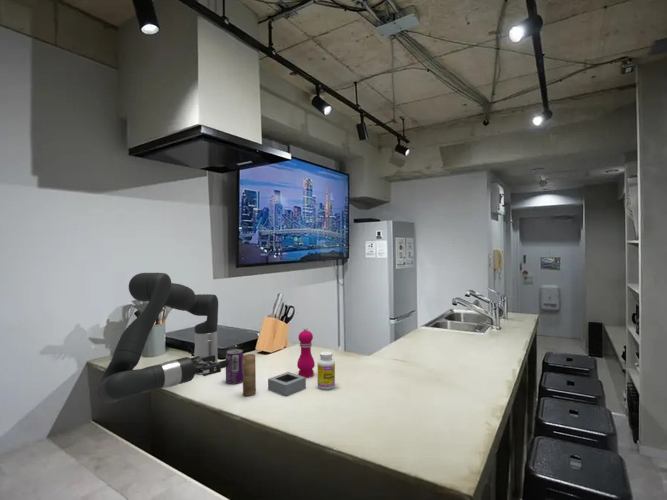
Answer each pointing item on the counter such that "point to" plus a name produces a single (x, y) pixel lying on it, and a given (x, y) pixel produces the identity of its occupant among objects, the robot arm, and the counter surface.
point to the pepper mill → (305, 354)
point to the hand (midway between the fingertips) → (221, 360)
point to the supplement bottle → (326, 371)
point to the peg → (249, 375)
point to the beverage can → (234, 366)
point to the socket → (286, 383)
